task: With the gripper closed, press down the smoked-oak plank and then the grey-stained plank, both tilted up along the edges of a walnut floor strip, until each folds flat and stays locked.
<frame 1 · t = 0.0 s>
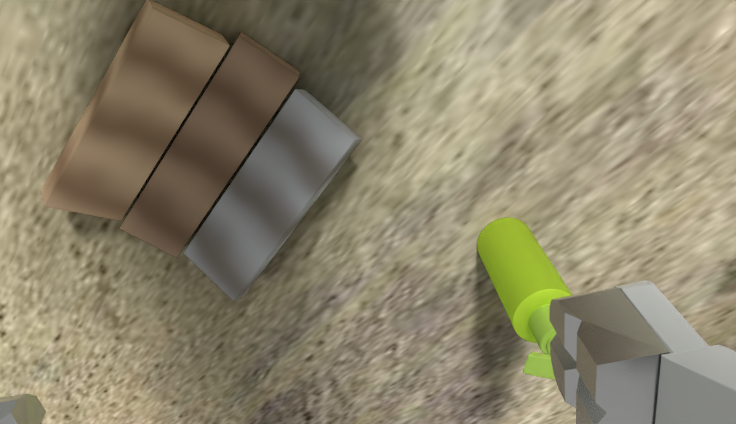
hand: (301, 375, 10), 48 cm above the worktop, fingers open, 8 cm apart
smoked oak plank: (132, 120, 53), point 3 cm above the worktop, hinge at 30.0°
walnut strip: (208, 148, 58), on the worktop
soap dispenser: (498, 240, 66), on the worktop
grey plank: (268, 198, 58), point 3 cm above the worktop, hinge at 30.0°
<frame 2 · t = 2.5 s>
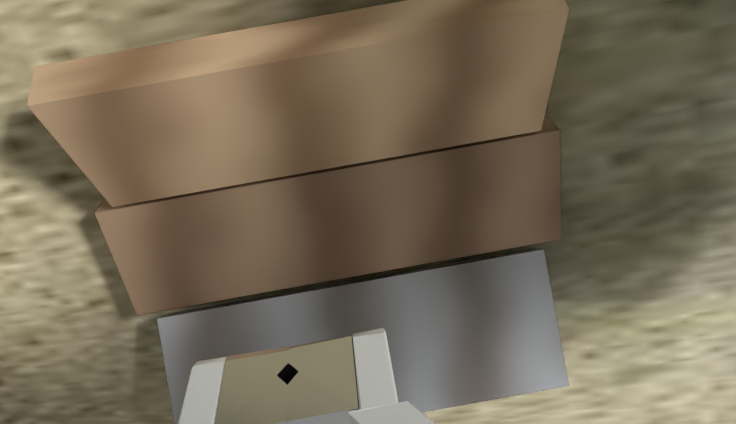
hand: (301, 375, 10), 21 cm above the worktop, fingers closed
smoked oak plank: (311, 101, 26), point 3 cm above the worktop, hinge at 30.0°
walnut strip: (337, 208, 32), on the worktop
grey plank: (362, 348, 32), point 3 cm above the worktop, hinge at 30.0°
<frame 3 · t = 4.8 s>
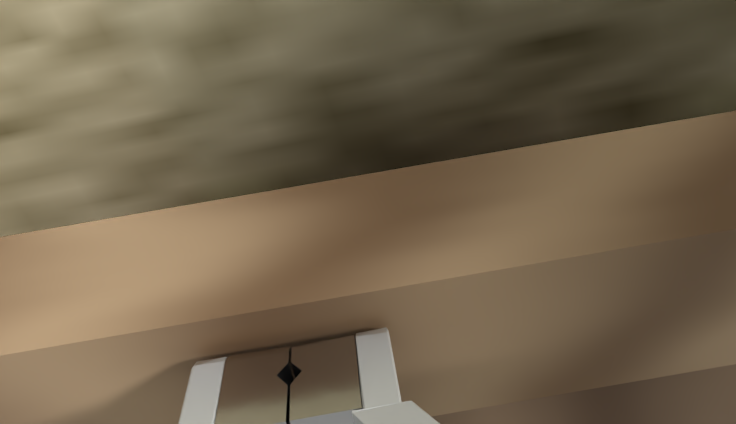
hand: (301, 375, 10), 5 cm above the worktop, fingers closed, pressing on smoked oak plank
smoked oak plank: (320, 334, 12), point 3 cm above the worktop, hinge at 28.1°, touching gripper
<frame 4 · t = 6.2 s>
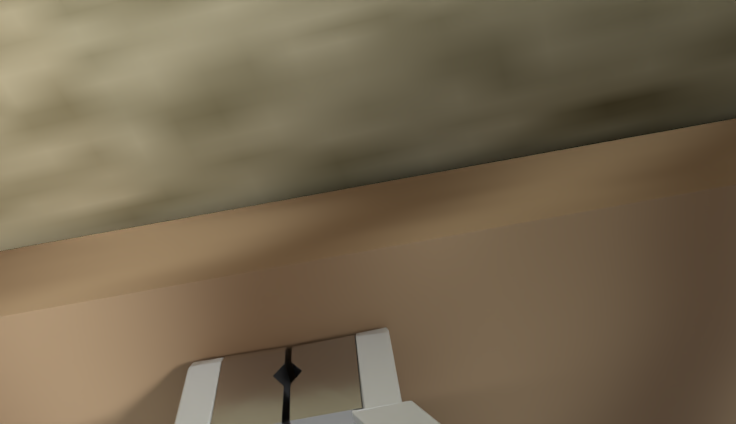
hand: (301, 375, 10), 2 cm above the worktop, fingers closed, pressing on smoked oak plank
smoked oak plank: (332, 390, 11), point 1 cm above the worktop, hinge at 1.3°, touching gripper
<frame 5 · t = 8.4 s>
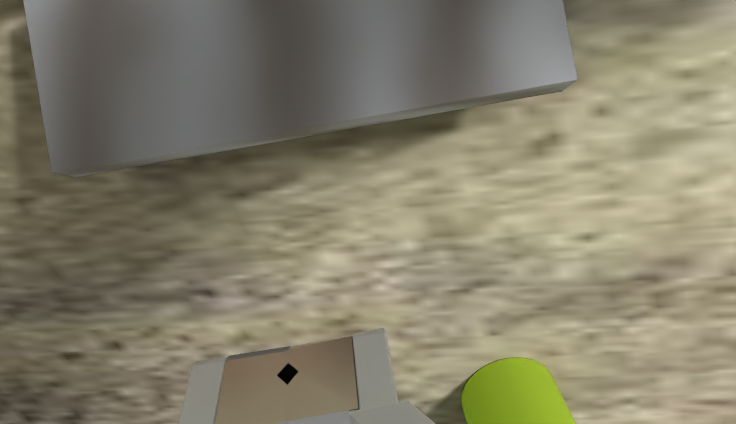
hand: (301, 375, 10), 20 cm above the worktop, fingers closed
soap dispenser: (502, 386, 39), on the worktop
grey plank: (301, 42, 24), point 3 cm above the worktop, hinge at 30.0°
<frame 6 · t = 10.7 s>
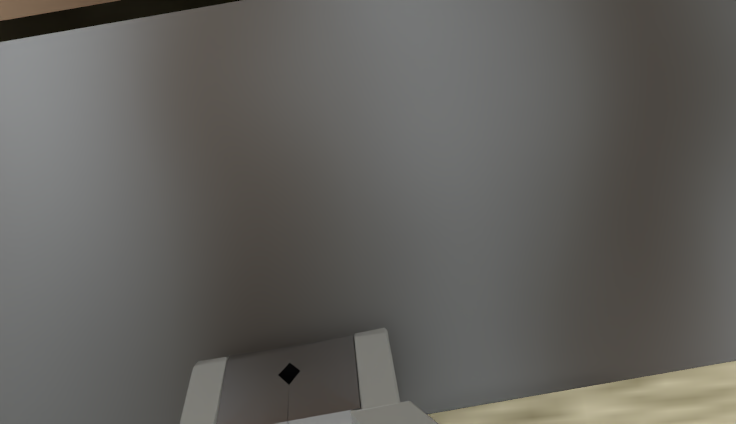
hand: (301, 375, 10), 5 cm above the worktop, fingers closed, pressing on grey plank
grey plank: (285, 217, 11), point 3 cm above the worktop, hinge at 23.6°, touching gripper
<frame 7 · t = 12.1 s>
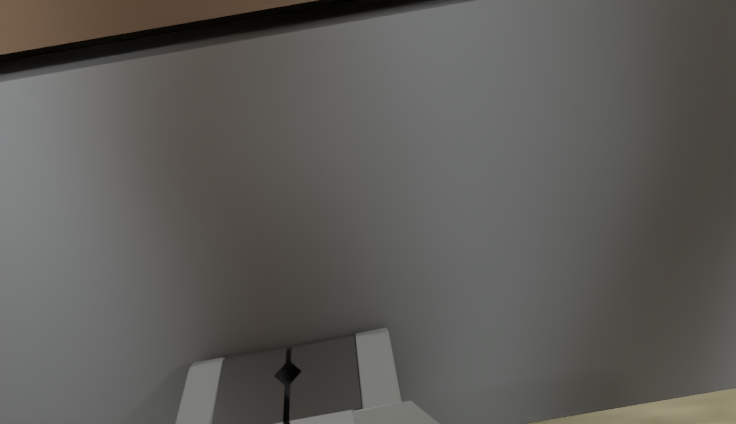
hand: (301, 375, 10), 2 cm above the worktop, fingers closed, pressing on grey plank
grey plank: (294, 250, 10), point 1 cm above the worktop, hinge at 3.4°, touching gripper
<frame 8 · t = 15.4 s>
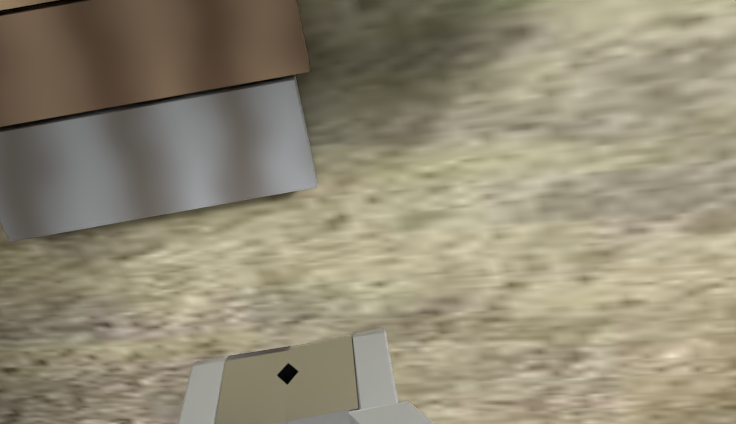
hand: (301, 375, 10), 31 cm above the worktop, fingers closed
walnut strip: (118, 46, 37), on the worktop
grey plank: (150, 158, 39), point 1 cm above the worktop, hinge at 3.3°
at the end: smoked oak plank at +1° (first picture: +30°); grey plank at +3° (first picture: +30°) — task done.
